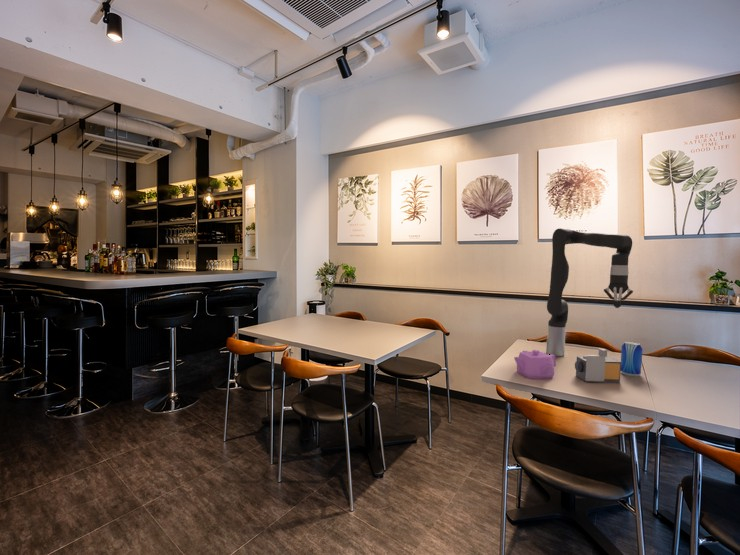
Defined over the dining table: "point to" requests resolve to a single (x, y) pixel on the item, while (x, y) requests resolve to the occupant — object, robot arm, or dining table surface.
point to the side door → (596, 366)
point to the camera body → (610, 369)
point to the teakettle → (535, 364)
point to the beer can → (631, 358)
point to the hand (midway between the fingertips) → (617, 307)
